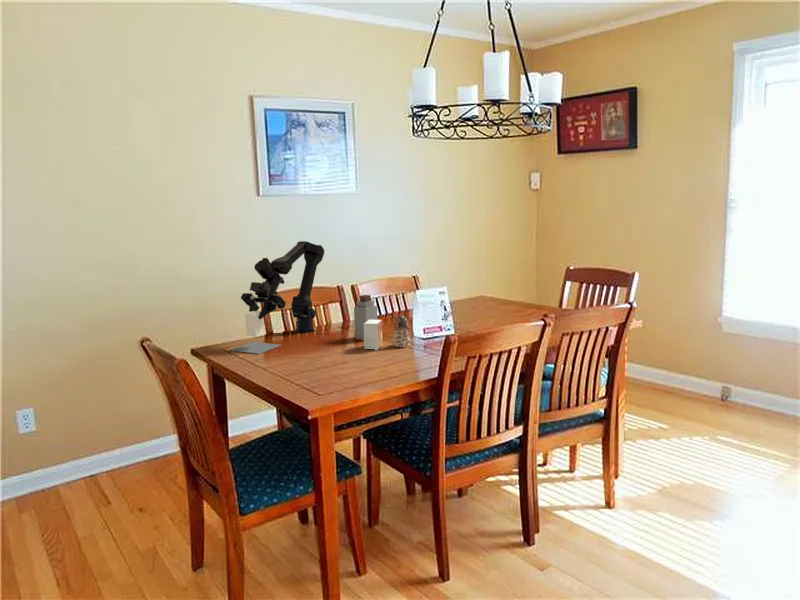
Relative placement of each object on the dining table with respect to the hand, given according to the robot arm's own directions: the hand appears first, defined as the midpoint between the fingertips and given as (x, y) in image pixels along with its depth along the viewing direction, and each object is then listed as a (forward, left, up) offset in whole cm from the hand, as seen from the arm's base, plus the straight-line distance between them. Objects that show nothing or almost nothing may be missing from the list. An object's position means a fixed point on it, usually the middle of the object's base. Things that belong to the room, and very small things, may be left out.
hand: (254, 318), depth 248 cm
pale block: (0, 0, -7) cm, 7 cm away
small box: (-35, +31, -12) cm, 48 cm away
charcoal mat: (0, 0, -12) cm, 12 cm away
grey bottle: (-42, +16, -12) cm, 46 cm away
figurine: (-45, +36, -12) cm, 59 cm away
